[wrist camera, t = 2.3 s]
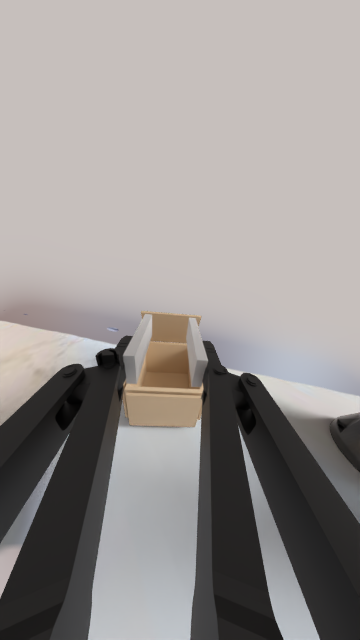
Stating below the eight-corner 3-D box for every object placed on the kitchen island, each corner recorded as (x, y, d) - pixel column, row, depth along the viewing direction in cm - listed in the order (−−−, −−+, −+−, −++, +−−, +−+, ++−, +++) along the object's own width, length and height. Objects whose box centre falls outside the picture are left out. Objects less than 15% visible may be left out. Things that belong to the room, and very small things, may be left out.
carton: (192, 373, 46) (198, 344, 41) (199, 431, 31) (210, 398, 25) (141, 370, 45) (140, 340, 39) (124, 429, 30) (117, 394, 24)
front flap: (192, 342, 41) (201, 315, 32) (193, 343, 41) (201, 317, 32) (146, 338, 40) (141, 310, 32) (145, 340, 40) (141, 312, 31)
